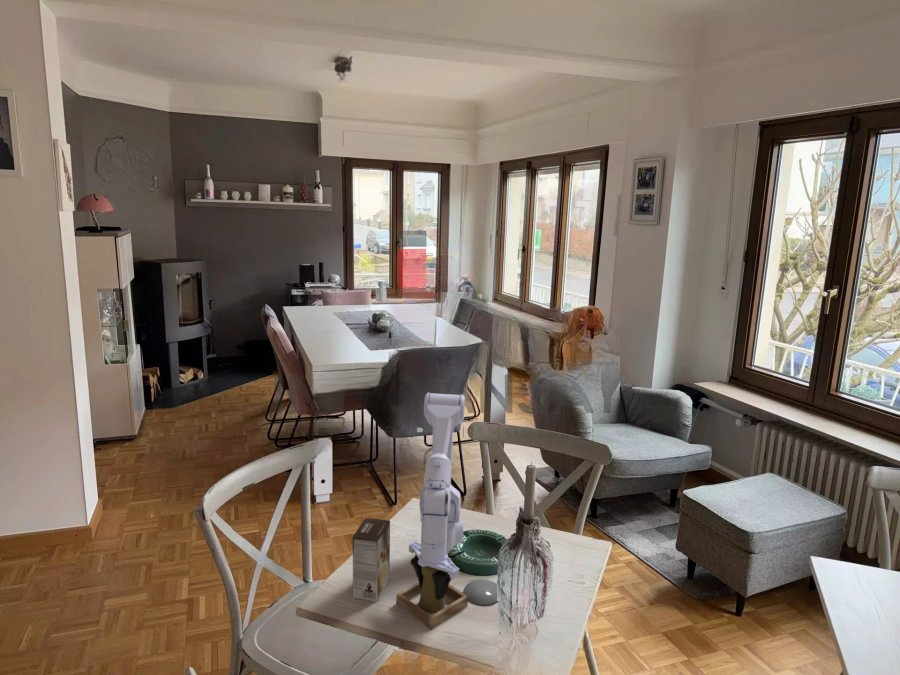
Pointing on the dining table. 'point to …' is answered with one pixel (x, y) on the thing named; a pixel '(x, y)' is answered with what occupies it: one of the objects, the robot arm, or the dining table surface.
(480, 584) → the grey pebble
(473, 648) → the dining table surface
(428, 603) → the olive waisted cylinder
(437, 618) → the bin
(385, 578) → the coffee box
